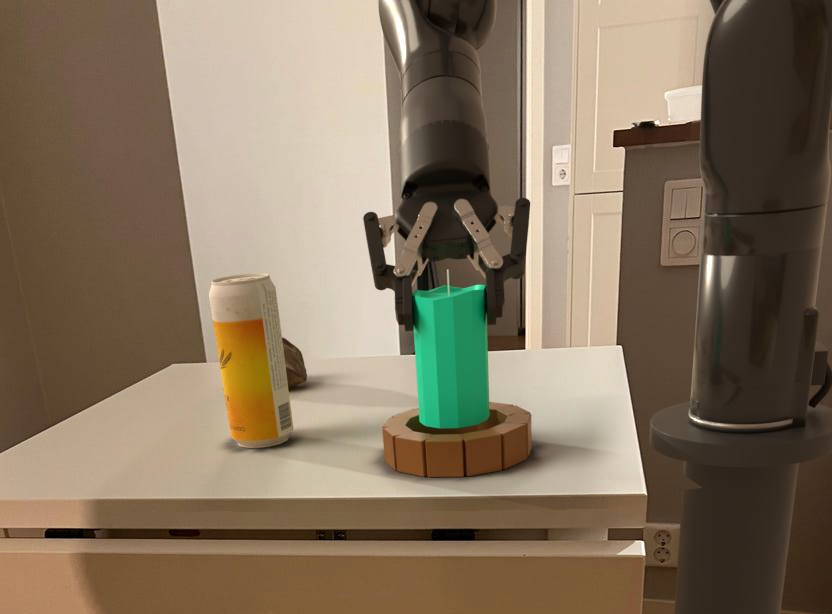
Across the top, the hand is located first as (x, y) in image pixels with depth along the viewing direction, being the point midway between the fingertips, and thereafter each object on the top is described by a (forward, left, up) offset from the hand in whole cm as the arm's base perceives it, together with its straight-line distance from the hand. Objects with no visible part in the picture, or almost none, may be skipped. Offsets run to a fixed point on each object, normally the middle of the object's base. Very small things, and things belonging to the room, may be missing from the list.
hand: (450, 321), depth 76 cm
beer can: (+20, -7, -12) cm, 24 cm away
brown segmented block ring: (0, -2, -11) cm, 11 cm away
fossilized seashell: (+27, -30, -12) cm, 42 cm away
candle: (0, -2, -8) cm, 9 cm away
